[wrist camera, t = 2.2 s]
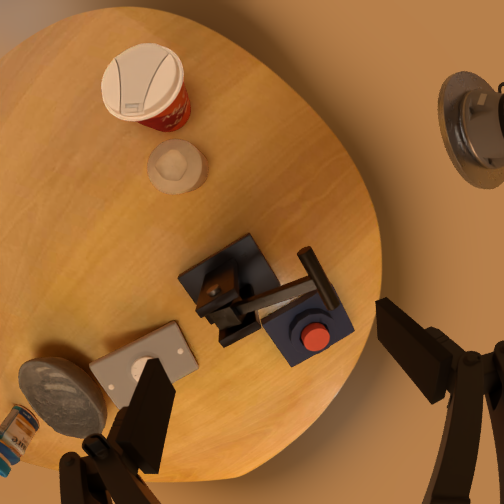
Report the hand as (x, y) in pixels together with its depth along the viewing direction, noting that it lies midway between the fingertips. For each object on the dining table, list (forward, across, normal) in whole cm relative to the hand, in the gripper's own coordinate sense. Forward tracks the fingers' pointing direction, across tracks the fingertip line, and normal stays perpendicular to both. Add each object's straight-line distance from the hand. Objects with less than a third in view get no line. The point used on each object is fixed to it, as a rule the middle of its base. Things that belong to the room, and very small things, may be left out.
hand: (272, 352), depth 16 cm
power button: (+20, +6, -13) cm, 24 cm away
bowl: (+23, -38, -15) cm, 46 cm away
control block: (+23, +6, -12) cm, 27 cm away
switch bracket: (+23, -4, -3) cm, 23 cm away
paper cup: (+23, -5, +21) cm, 31 cm away
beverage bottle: (+23, -64, -26) cm, 72 cm away
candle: (+23, -5, +12) cm, 27 cm away
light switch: (+23, -19, -11) cm, 32 cm away
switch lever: (+12, +1, -1) cm, 12 cm away
